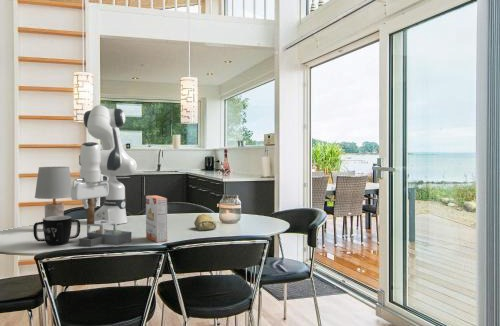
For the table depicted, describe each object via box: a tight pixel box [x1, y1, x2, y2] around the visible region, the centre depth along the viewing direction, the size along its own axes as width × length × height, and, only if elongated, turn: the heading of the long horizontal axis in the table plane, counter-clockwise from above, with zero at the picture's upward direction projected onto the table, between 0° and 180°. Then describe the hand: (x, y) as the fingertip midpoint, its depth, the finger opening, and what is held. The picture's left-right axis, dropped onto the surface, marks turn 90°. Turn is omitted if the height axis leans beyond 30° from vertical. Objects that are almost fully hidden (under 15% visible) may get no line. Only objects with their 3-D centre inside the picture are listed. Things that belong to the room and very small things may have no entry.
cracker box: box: [145, 195, 168, 244], centre depth 206 cm, size 14×6×21 cm, turn 33°
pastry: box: [193, 213, 217, 232], centre depth 236 cm, size 14×12×8 cm
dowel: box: [86, 189, 95, 225], centre depth 195 cm, size 3×3×16 cm
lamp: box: [34, 166, 73, 218], centre depth 230 cm, size 19×19×34 cm
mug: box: [33, 215, 81, 246], centre depth 196 cm, size 16×16×12 cm
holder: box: [78, 236, 103, 247], centre depth 195 cm, size 7×7×3 cm
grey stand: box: [86, 220, 133, 245], centre depth 204 cm, size 18×10×8 cm, turn 67°
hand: (90, 208), depth 195 cm, fingers closed on dowel, 3 cm apart
